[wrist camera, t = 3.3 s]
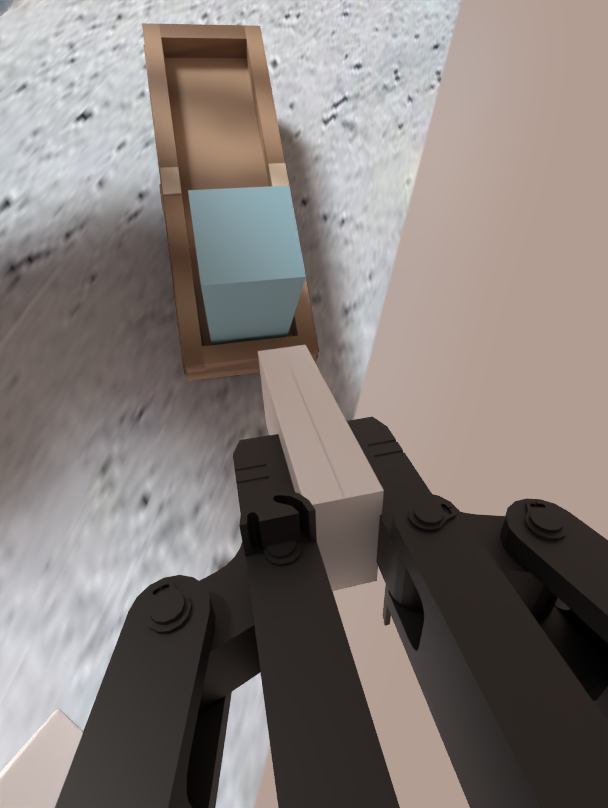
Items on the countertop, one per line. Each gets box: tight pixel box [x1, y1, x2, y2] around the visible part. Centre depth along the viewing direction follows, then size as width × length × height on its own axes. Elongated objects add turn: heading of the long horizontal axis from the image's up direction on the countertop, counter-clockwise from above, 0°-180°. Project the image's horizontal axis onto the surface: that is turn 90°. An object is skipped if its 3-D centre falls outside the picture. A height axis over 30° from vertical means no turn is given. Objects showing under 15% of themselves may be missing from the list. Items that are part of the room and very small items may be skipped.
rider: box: [188, 186, 306, 345], centre depth 25 cm, size 5×5×9 cm
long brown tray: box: [142, 24, 319, 381], centre depth 33 cm, size 26×9×7 cm, turn 10°
